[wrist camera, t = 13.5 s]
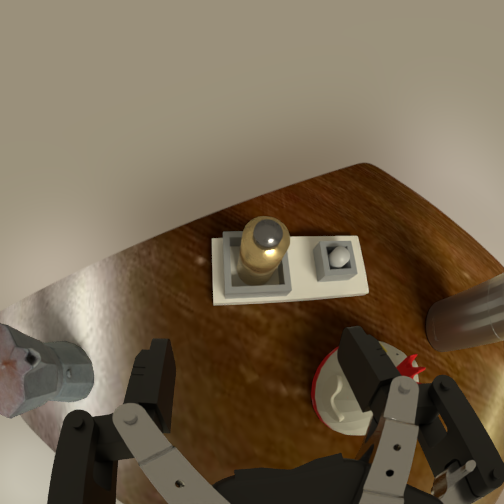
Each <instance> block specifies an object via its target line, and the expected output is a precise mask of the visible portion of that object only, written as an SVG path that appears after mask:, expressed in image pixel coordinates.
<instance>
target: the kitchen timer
mask: <svg viewBox="0 0 504 504" xmlns="http://www.w3.org/2000/svg"><path fill="white" fill-rule="evenodd" d="M379 343H380V344H381V346H382V347H383V349H384V350H385V352H386V353H387V355H388V356H389V357H390V359H391V360H392V362H393V363H394V365H395V366H396V368H397V369H398V371H399V372H400V374H401V375H402V376H407V377H410V378H412V379H413V380H415V381H416V383H417V384H422V383H419V380H418V373H420V372H422V371H423V370H425V367H418V365H417V363H416V362H415V360H414V359H415V357H416V356H417V354H414V355H410V356H408V357H407V356H406V355H405V354H404V353H403V352H402V351H400V350H398V349H396V348H395V347H393V346H391V345H388V344H386V343H384V342H380V341H379ZM338 347H339V346H338ZM338 347H336V348H335V349H334V350H332V351H331V352H330V353H329V354H328V355H327V356H325V358H324V359H323V361H322V362H321V364H320V365H319V366H318V368H317V370H316V373H315V376H314V378H313V381H312V389H311V398H312V404H313V409H314V410H315V412H316V414H317V416H318V417H319V419H320V420H321V421H322V422H323V423H324V424H325V425H327V426H328V427H329V428H331V429H333V430H335V431H338V432H340V433H343V434H346V435H365V434H366V431H367V428H368V425H369V422H370V419H371V417H372V415H373V413H372V411H368V412H364V413H363V412H362V410H361V408H360V406H359V404H358V402H357V400H356V398H355V396H354V394H353V391H352V389H351V387H350V385H349V383H348V381H347V379H346V377H345V375H344V373H343V371H342V369H341V367H340V365H339V363H338V359H337V351H338Z"/></svg>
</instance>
